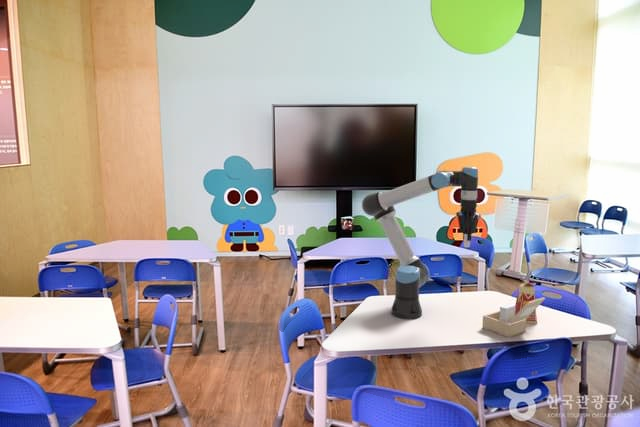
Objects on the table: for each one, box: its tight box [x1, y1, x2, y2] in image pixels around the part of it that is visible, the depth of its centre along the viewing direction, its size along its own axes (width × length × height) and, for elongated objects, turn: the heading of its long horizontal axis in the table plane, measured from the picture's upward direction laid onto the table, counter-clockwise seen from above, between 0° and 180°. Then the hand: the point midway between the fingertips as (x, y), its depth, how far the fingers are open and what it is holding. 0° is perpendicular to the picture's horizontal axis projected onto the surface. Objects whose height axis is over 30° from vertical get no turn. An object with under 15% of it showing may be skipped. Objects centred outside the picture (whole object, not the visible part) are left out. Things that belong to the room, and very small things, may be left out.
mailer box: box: [481, 303, 527, 339], centre depth 221 cm, size 14×12×12 cm
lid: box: [509, 296, 546, 324], centre depth 211 cm, size 14×12×1 cm
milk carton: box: [514, 280, 538, 324], centre depth 235 cm, size 9×9×20 cm
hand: (466, 246), depth 238 cm, fingers closed
